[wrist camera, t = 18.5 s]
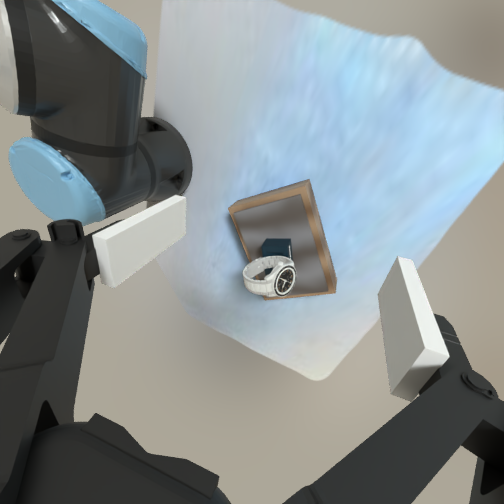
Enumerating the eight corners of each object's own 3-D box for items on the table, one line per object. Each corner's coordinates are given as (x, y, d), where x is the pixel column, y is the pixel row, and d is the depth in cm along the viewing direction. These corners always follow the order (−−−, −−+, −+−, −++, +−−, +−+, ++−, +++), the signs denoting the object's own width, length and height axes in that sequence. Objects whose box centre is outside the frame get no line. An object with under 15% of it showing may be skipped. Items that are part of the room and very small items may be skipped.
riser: (237, 200, 50) (226, 209, 45) (309, 179, 44) (304, 186, 39) (270, 287, 57) (263, 302, 52) (336, 279, 50) (335, 295, 46)
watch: (304, 267, 45) (292, 307, 36) (260, 265, 48) (239, 301, 39) (302, 238, 43) (288, 272, 34) (256, 237, 46) (232, 269, 37)
